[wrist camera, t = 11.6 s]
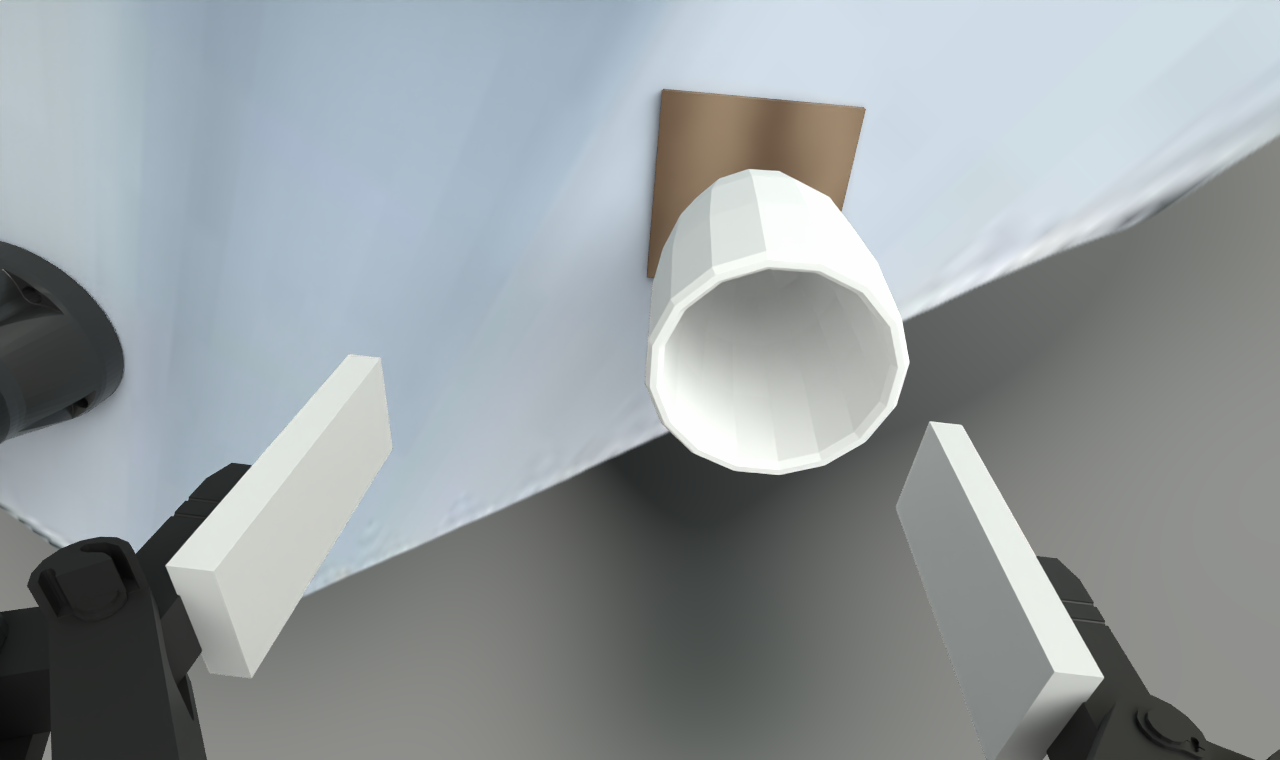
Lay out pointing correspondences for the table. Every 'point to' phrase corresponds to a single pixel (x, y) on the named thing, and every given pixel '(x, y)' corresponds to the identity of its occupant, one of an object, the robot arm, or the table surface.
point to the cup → (771, 328)
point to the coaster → (745, 149)
